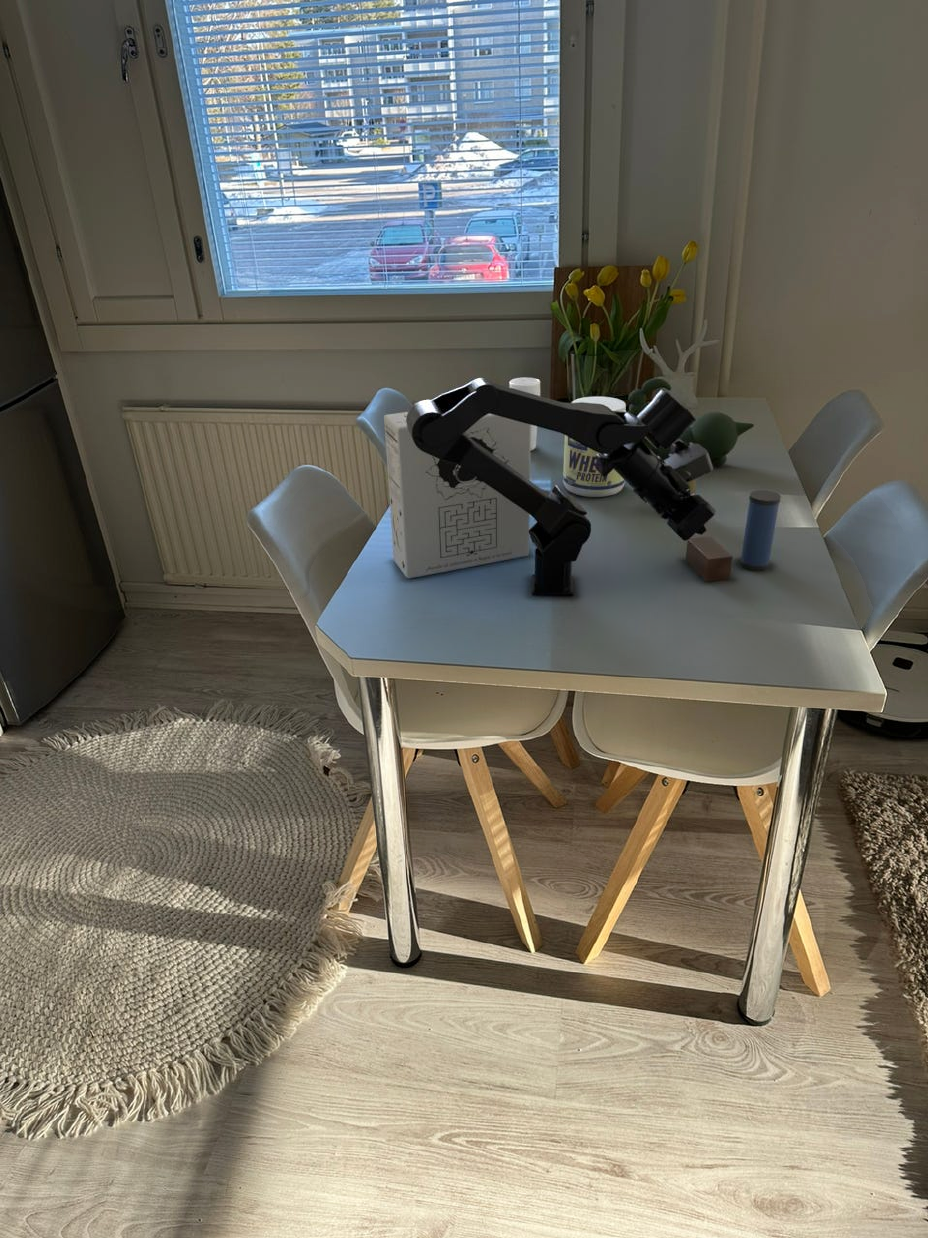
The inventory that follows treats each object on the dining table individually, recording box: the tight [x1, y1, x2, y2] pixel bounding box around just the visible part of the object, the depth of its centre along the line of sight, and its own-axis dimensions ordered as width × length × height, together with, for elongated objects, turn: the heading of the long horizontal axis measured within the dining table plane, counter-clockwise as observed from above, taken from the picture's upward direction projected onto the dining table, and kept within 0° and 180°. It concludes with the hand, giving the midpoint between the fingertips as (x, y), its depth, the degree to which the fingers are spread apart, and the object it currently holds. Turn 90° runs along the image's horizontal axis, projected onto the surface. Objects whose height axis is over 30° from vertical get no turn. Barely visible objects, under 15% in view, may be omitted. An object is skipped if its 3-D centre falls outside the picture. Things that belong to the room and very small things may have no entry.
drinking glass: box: [508, 377, 541, 452], centre depth 192 cm, size 7×7×15 cm
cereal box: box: [383, 411, 531, 579], centre depth 141 cm, size 22×8×25 cm, turn 111°
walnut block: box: [684, 535, 733, 583], centre depth 140 cm, size 4×8×4 cm, turn 11°
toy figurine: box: [627, 377, 755, 467], centre depth 180 cm, size 9×19×25 cm
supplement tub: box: [562, 396, 627, 498], centre depth 170 cm, size 12×12×17 cm
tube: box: [739, 489, 782, 572], centre depth 140 cm, size 12×5×12 cm
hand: (703, 531), depth 138 cm, fingers closed
